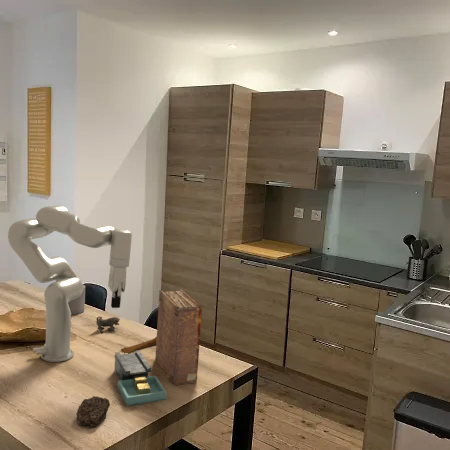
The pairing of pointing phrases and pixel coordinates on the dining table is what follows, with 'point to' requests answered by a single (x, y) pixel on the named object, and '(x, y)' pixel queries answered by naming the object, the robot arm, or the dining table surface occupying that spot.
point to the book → (178, 336)
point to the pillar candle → (78, 303)
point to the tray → (133, 399)
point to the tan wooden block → (139, 380)
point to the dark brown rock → (92, 411)
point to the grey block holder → (131, 365)
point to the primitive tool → (139, 346)
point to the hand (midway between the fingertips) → (115, 307)
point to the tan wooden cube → (143, 388)
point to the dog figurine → (107, 323)
